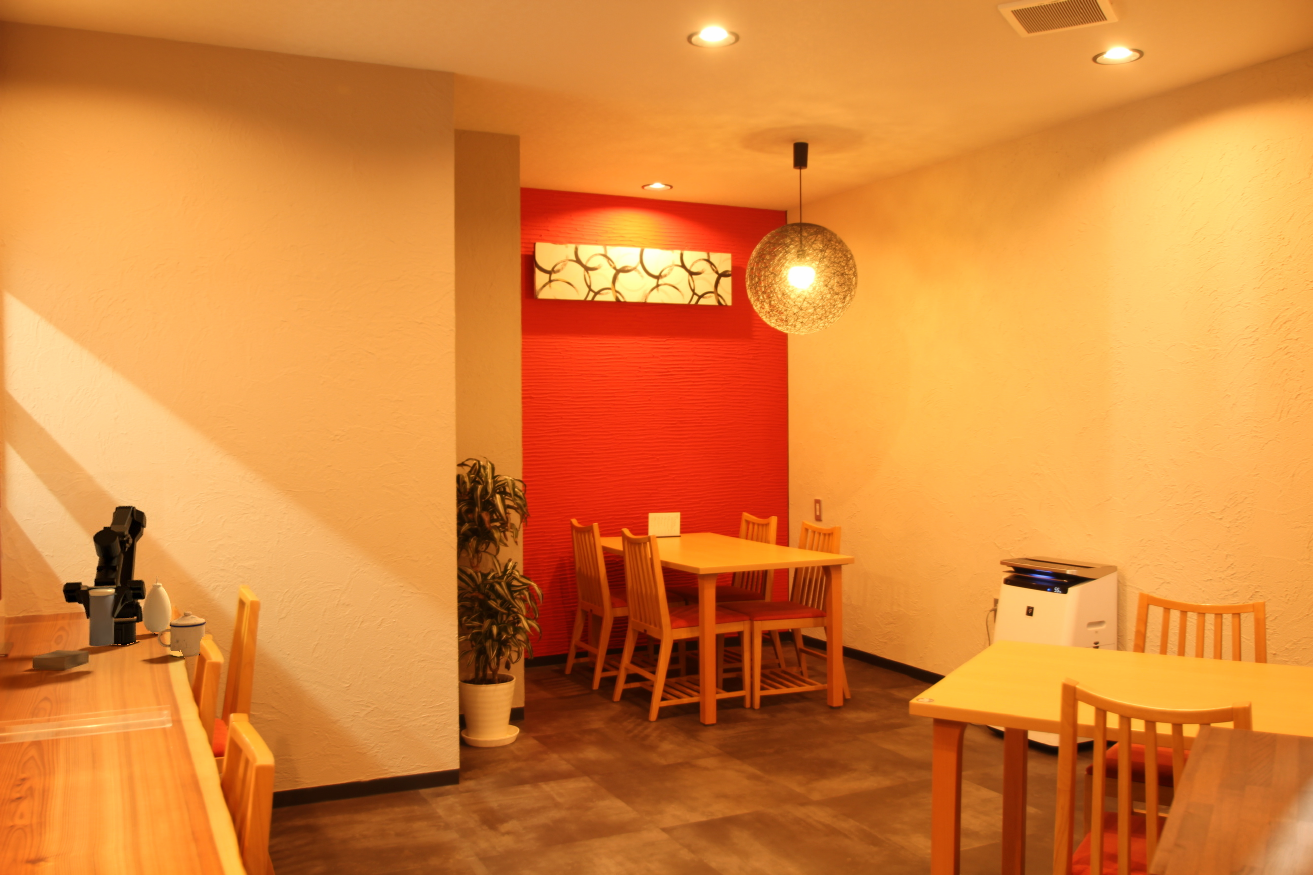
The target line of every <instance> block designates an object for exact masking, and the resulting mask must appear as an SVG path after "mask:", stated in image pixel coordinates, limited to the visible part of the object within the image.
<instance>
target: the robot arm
mask: <svg viewBox="0 0 1313 875" xmlns="http://www.w3.org/2000/svg"><path fill="white" fill-rule="evenodd" d="M102 528H103V529H101V530H99V531H97V532H96V533H94V535H93V537H92V538H93V539H92V540H93V544H94V548H95V553H96V555H97V557H98V561H97V562H98V563H97V566H96V571H95V572H96V573H95V578H94V579H93V582H94V583H93V586H90V585H89V586H88V585H87V584H83V582H82V581H73V582H71V581H69V582H67V581H66V582H65V583H64V584H63V587H62V594H63V597H64V600H65V602H66V603H68V604H74V603H76V604H78V605H82V606H83V608H84V612H85V616H86V617H85V618H86V619H87V620H89V601H90V595H89V591H90V590H93V589H102V588H112V589H115V594H114V608H113V618H114V643H113V644H117V645H116V646H119V645H118V644H121V645H127V644H130V643H133V642H136V640H137V638H136V637H137V624H140V623H142V622H143V607H142V606H141V603H140V600H141V601H143V600H145V599H146V597H147V589H146V583H145V580H143V579H135V569H136V568H135V567H136V566H135V565H136V555H137V554H136V552H137V544H138V542H139V541H140V540H141V538H142V537H143V536H144V531H145V529H146V528H147V515H146V513H145V512H144V511H142V510H140V509H138V508H137V507H136V506H133V505H118V506H115V509H114V511H113V512H112V520H111V523H110V525H109V526H103V527H102ZM143 623H144V622H143Z"/></svg>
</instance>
